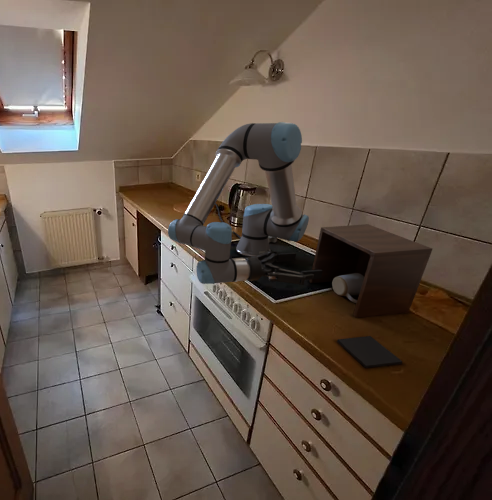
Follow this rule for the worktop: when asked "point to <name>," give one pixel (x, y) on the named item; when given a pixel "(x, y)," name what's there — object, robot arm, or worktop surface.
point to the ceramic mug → (348, 285)
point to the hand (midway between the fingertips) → (307, 264)
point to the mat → (369, 352)
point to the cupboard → (373, 266)
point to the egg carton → (272, 239)
